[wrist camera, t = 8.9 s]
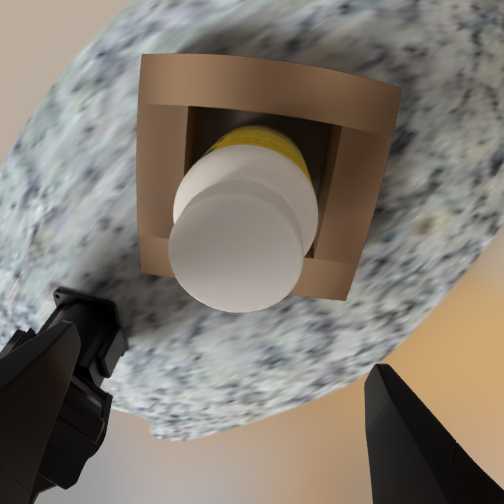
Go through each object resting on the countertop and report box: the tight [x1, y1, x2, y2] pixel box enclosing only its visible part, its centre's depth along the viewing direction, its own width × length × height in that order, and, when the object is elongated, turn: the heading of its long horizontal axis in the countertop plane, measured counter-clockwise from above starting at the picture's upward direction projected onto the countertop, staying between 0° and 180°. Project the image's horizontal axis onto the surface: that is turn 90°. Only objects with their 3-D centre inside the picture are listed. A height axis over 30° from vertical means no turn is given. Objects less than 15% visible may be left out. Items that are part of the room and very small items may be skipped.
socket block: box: [136, 53, 402, 301], centre depth 17 cm, size 12×12×4 cm
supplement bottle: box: [168, 124, 318, 313], centre depth 13 cm, size 5×5×10 cm
